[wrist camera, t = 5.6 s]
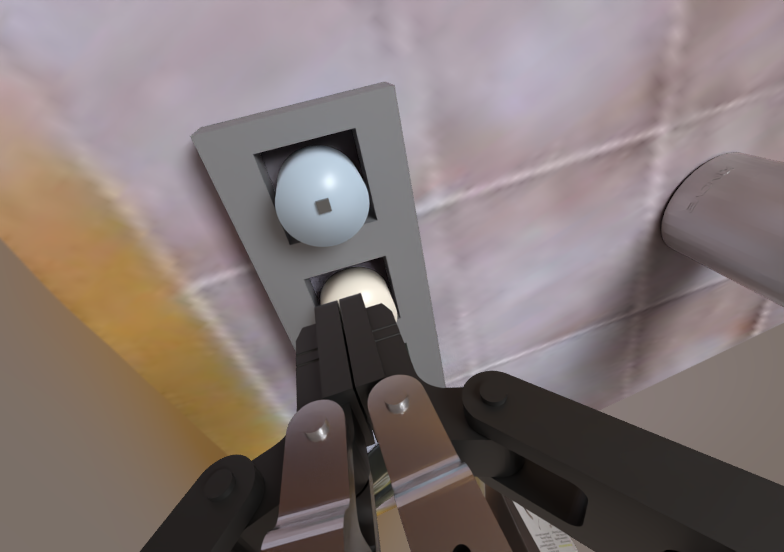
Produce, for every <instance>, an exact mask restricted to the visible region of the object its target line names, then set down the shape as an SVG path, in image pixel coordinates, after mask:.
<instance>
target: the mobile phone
mask: <svg viewBox="0 0 784 552" xmlns="http://www.w3.org/2000/svg"><path fill="white" fill-rule="evenodd" d="M368 458H369V464H370V471H371V474H372V480H373V488H374V497H375V506H376V508H378V507H379V506H380V505H381V504H383V503H384V502H385V501H386V500H388V499H390V498H391V497H392V496H393V495H394V493H393V492H394V491H393V487H392V484H391V481H390V477H389V474H388V471H387V468H386V465H385V461H384V458H383V455H382V452H381V449H380V445H378V446H376V447H375V448H374V449H373V450H372V451H371V452H370V453H369V454H368Z"/></svg>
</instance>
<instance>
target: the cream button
mask: <svg viewBox="0 0 784 552" xmlns="http://www.w3.org/2000/svg"><path fill="white" fill-rule="evenodd" d="M358 293H361V294H362V297H363V301H364V304H365V307H366V308H367V307H370V306H374V305H377V304H380V303H382V304H384V305H385V306H386V307H387V308H389V309H390V310H391V311H392V312H393V315H394V318H395V320H396V322H397V310H396V307H395V304H394V302H393V299H392V297H391V295H390V292H389V290H388V287H387V285H386V282H385V280H384V279H383V278H382V276H380V275H379V274H378V273H377V272H375V271H373V270H371V269H368V268H364V267H351V268H346V269H343V270H341V271H339V272H337V273H335V274H334V275H332V276H331V277H330V278H329V279H328V280H327V281H326V283H325V284H324V286H323V288H322V291H321V295H320V301H321V305H323V304H326V303H329V302H332V301H336V300H337V301H338V303H339V299H342V298H345V297H348V296H352V295H355V294H358ZM339 305H340V304H339Z"/></svg>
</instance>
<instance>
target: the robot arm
mask: <svg viewBox="0 0 784 552" xmlns="http://www.w3.org/2000/svg"><path fill="white" fill-rule="evenodd" d="M661 232H662V238H663V240H664V242H665V243H666V244H667V245H668V246H669V247H670V248H672V249H674V250H676V251H678V252H679V253H681V254H683V255H685V256H687V257H689V258H691V259H693V260H695V261H697V262H699V263H700V264H702V265H704V266H706V267H708V268H710V269H712V270H713V271H715V272H717V273H719V274H721V275H723V276H725V277H727V278H729V279H731V280H733V281H734V282H736V283H738V284H740V285H742V286H744V287H746V288H748V289H750V290H752V291H754V292H755V293H757V294H759V295H761V296H763V297H765V298H767V299H769V300H771V301H773V302H775V303H776V304H778V305H780V306H782V307H784V162H780V161H775V160H771V159H766V158H762V157H757V156H753V155H749V154H744V153H739V152H734V153H726V154H724V155H721V156H718V157H716V158H714V159H712V160H710V161H708V162H706V163H705V164H704V165H702V166H701V167H699V168H698V169H697V170H695V171H694V172H693V173H692V174H691V175H690V176H689V177H688V178H687V179H686V180H685V181H684V182H683V183H682V185H681V186H680V187H679V188H678V189H677V191H676V192H675V194H674V195H673V197H672V199H671V200H670V202H669V204H668V206H667V208H666V210H665V213H664V216H663V220H662V228H661ZM339 304H340V305H339ZM314 312H315V323H316V324H313V325H310V326H306V327H303V328H302V329H301V331H300V333H299V336H298V338H297V340H296V356H297V357H296V366H297V368H296V385H297V413H296V414H295V415H294V416H293V417H292V419H291V420H290V422H289V424H288V427H287V431H286V436H285V437H284V438H283V439H282V440H281V441H280V442H279V443H277V444H276V445H275V446H273V447H272V448H270V449H269V450H267V451H266V452H264V453H263V454H261V455H260V456H258V457H257V458H255V459H254V460H252V461H251V460H250V459H249V458H247V457H246V456H243V455H230V456H227V457H224V458H222V459H220V460H218V461H217V462H215V463H214V464H212V465H211V466H210V467H209V468H208V469H206V470H205V471H204V472H203V473H202V475H201V476H200V477H199V478H198V479H197V481H196V482H195V483H194V485H193V486H192V487H191V488H190V490H189V491H188V492H187V493H186V494H185V496H184V497H183V498H182V500H181V501H180V502H179V503H178V505H177V506H176V507H175V508H174V509H173V511H172V512H171V513H170V515H169V516H168V517H167V518H166V520H165V521H164V522H163V523H162V525H161V526H160V527H159V528H158V530H157V531H156V532H155V533H154V535H153V536H152V537H151V538H150V540H149V541H148V542H147V543H146V545H145V546H144V547H143V548H142V550H141V551H140V552H381V551H380V542H379V532H378V524H377V515H376V506H375V497H374V488H373V480H372V474H371V471H370V464H369V458H368V453H367V448H366V447H367V446H370V445H373V444H375V441H374V436H373V433H374V435H375V438H376V440H377V443H378V442H379V445H380V449H381V452H382V455H383V458H384V461H385V465H386V468H387V471H388V474H389V477H390V481H391V484H392V487H393V491H394V492H393V493H394V498H395V501H396V505H397V508H398V511H399V515H400V518H401V521H402V524H403V528H404V531H405V534H406V537H407V541H408V544H409V547H410V550H411V552H513V551H512V549H511V548H510V546H509V544H508V542H507V540H506V538H505V536H504V534H503V532H502V530H501V528H500V526H499V524H498V522H497V520H496V518H495V516H494V514H493V513H492V511H491V509H490V507H489V505H488V503H487V501H486V499H485V497H484V495H483V493H482V491H481V489H480V487H479V485H478V483H477V481H476V479H475V478H474V477H478V478H479V479H480V480H481V481H482V482H484V483H485V484H486V485H488V486H490V487H491V488H493V489H494V490H496V491H498V492H499V493H501V494H503V495H504V496H506V497H507V498H509V499H511V500H512V501H514V502H516V503H517V504H519V505H520V506H522V507H524V508H525V509H527V510H528V511H530V512H532V513H533V514H535V515H537V516H538V517H540V518H541V519H543V520H545V521H546V522H548V523H550V524H551V525H553V526H554V527H556V528H558V529H559V530H561V531H562V532H564V533H566V534H567V535H569V536H571V537H572V538H574V539H575V540H577V541H579V542H580V543H582V544H584V545H585V546H587V547H588V548H590V549H592V550H593V551H595V552H784V486H782V485H780V484H777V483H775V482H772V481H770V480H767V479H765V478H762V477H760V476H758V475H755V474H752V473H750V472H748V471H745V470H743V469H740V468H738V467H735V466H733V465H731V464H728V463H726V462H723V461H721V460H718V459H716V458H713V457H711V456H708V455H706V454H703V453H701V452H698V451H696V450H693V449H691V448H689V447H686V446H683V445H681V444H679V443H676V442H674V441H671V440H669V439H666V438H664V437H661V436H659V435H657V434H654V433H652V432H649V431H647V430H644V429H642V428H639V427H637V426H634V425H632V424H629V423H627V422H625V421H622V420H619V419H617V418H615V417H612V416H610V415H607V414H605V413H602V412H600V411H597V410H595V409H592V408H590V407H588V406H585V405H583V404H580V403H578V402H575V401H573V400H570V399H568V398H565V397H563V396H560V395H558V394H556V393H553V392H551V391H548V390H546V389H543V388H541V387H538V386H536V385H533V384H531V383H528V382H526V381H523V380H521V379H519V378H516V377H514V376H511V375H509V374H506V373H503V372H499V371H485V372H481V373H478V374H476V375H474V376H472V377H471V378H470V379H469V380H468V381H467V382H466V383H465V385H464V387H458V388H441V387H435V386H432V385H430V384H427V383H426V382H424V381H423V380H422V379H421V378H419V376H418V375H417V374H416V372H415V369H414V367H413V364H412V362H411V359H410V356H409V354H408V351H407V349H406V346H405V343H404V341H403V338H402V336H401V333H400V331H399V328H398V325H397V323H396V320H395V318H394V315H393V312H392V311H391V310H390V309H389V308H387V307H386V306H385V305H384V304H382V303H380V304H377V305H374V306H370V307H367V308H366V307H365V304H364V301H363V297H362V294H361V293H358V294H355V295H352V296H348V297H345V298H342V299H339V303H338V301H337V300H336V301H332V302H329V303H326V304H323V305H319V306H316V307H314ZM372 430H373V431H372Z"/></svg>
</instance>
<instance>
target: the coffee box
mask: <svg viewBox="0 0 784 552" xmlns="http://www.w3.org/2000/svg"><path fill="white" fill-rule="evenodd" d="M474 478H475V479H476V481H477V483H478V485H479V487H480V489H481V491H482V493H483V495H484V497H485V499H486V501H487V503H488V505H489V507H490V509H491V511H492V513H493V514H494V516H495V518H496V520H497V522H498V524H499V526H500V528H501V530H502V532H503V534H504V536H505V538H506V540H507V542H508V544H509V546H510V548H511V549H512V551H513V552H578V551H577V549H576V547H575V545H574V543H573V542H572V540H571V538H570V536H569V535H567V534H566V533H564V532H562V531H561V530H559V529H558V528H556V527H554V526H553V525H551V524H550V523H548V522H546V521H545V520H543V519H541V518H540V517H538V516H537V515H535V514H533V513H532V512H530V511H528V510H527V509H525V508H524V507H522V506H520V505H519V504H517V503H516V502H514V501H512V500H511V499H509V498H507V497H506V496H504V495H503V494H501V493H499V492H498V491H496V490H494V489H493V488H491V487H490V486H488V485H486V484H485V483H484V482H482V481H481V480H480V479H479V478H478V477H474Z"/></svg>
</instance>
